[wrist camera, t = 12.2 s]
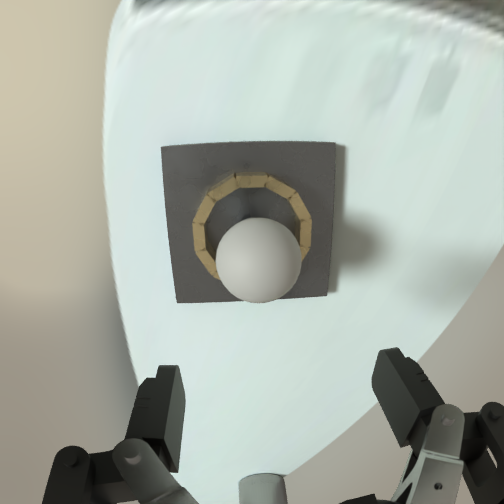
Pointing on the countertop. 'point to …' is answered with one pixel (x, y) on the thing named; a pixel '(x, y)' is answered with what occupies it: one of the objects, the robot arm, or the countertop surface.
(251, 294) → the lightbulb
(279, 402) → the countertop surface
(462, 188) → the countertop surface
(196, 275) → the lamp socket
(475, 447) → the robot arm
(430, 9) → the countertop surface
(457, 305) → the countertop surface
